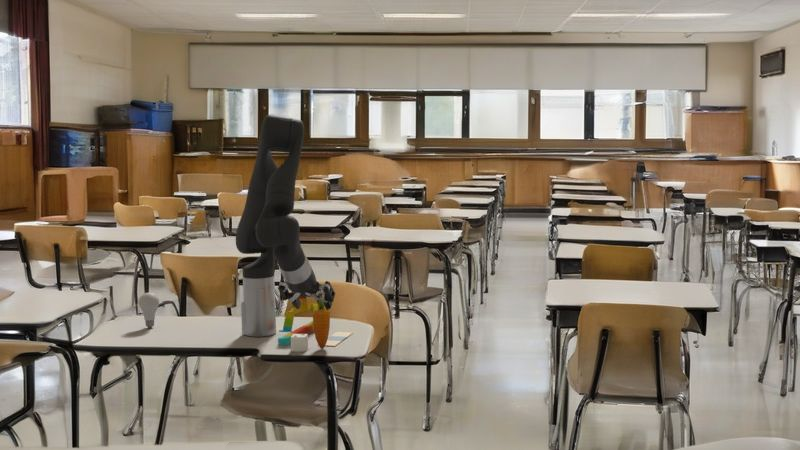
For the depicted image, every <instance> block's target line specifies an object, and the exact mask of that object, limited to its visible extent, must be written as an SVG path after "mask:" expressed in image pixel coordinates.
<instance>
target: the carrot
mask: <svg viewBox="0 0 800 450" xmlns="http://www.w3.org/2000/svg"><path fill="white" fill-rule="evenodd" d="M322 297H323V298H324V295H322ZM315 300H316V299H315ZM316 303H318V306H319V308H316V309H314V311H312V321H313V326H314V331H313V333H314V337H315V340H316V343H317V346H318V345H319V346H318V347H319V348H320V349H321V350H323V349H325V347H326V346H325V345H326V342H327V339H328V338H329V333H330V328H331V327H330V323H331V319H330V318H331V313H330V312H331V311H330V310H326V308H325V306H324V303H323V302H322V301H321V300H316Z"/></svg>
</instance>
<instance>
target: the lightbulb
mask: <svg viewBox="0 0 800 450" xmlns="http://www.w3.org/2000/svg"><path fill="white" fill-rule="evenodd" d="M159 305H160V300H159V296H158V295H156V293H154V292H145V293H143V294H141V296H140V297H139V299H138V306H139V308H140V311H142V314H143V318H144V323H145V327H147V328H149V329H152V328H153V327H154V326H155V319H156V312H157V310H158V308H159Z"/></svg>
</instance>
